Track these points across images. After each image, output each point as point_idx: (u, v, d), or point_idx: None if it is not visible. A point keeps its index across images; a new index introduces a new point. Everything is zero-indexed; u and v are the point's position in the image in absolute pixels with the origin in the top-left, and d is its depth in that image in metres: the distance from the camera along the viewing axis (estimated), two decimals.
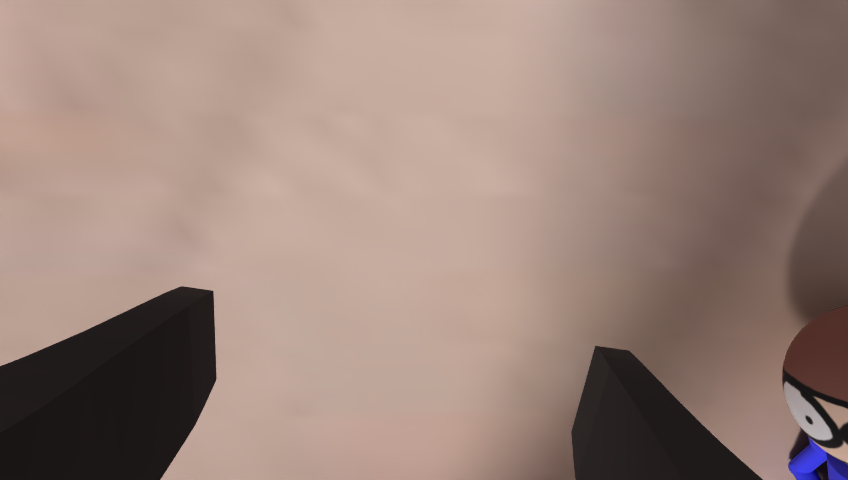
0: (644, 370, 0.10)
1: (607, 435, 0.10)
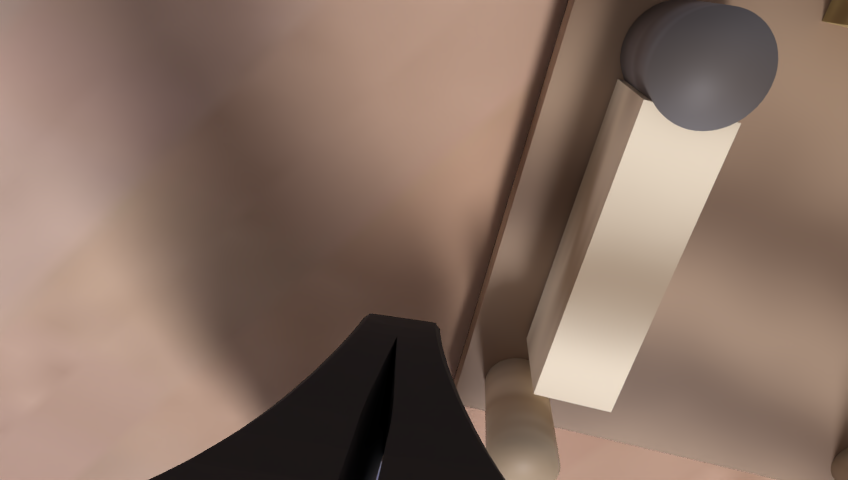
0: (431, 340, 0.10)
1: (390, 403, 0.10)
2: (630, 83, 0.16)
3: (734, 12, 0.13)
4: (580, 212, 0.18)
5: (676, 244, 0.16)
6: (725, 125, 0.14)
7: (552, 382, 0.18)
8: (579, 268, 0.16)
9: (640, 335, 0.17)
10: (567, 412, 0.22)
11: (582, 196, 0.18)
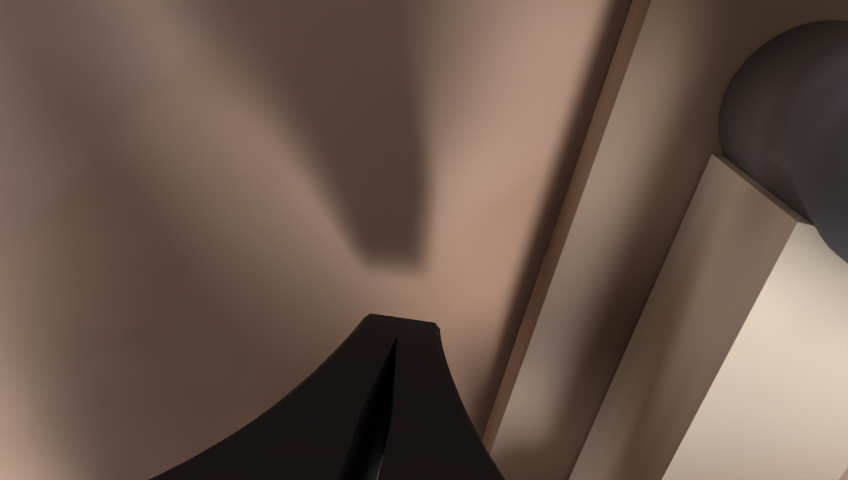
0: (431, 340, 0.10)
1: (390, 403, 0.10)
2: (741, 167, 0.09)
3: None
4: (645, 371, 0.11)
5: (831, 462, 0.09)
6: None
7: None
8: None
9: None
10: None
11: (647, 341, 0.11)
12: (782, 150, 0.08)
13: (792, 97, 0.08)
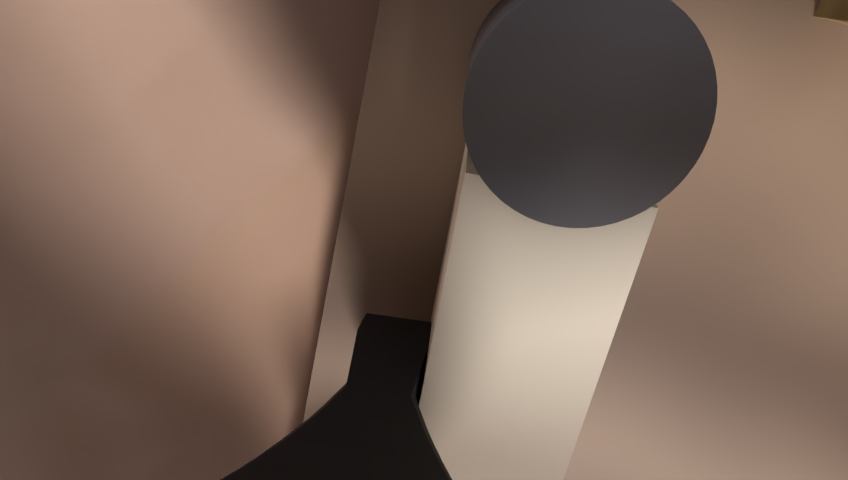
0: (391, 334, 0.10)
1: None
2: None
3: None
4: None
5: (567, 415, 0.09)
6: (627, 214, 0.07)
7: None
8: None
9: None
10: None
11: (433, 309, 0.11)
12: None
13: (474, 51, 0.08)
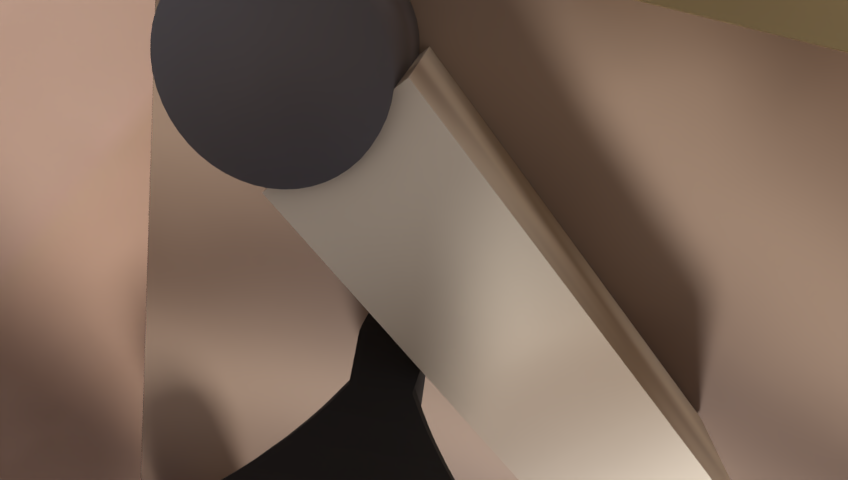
0: None
1: None
2: None
3: None
4: None
5: (550, 296, 0.08)
6: (388, 107, 0.07)
7: None
8: (476, 428, 0.09)
9: (667, 435, 0.09)
10: None
11: None
12: None
13: None
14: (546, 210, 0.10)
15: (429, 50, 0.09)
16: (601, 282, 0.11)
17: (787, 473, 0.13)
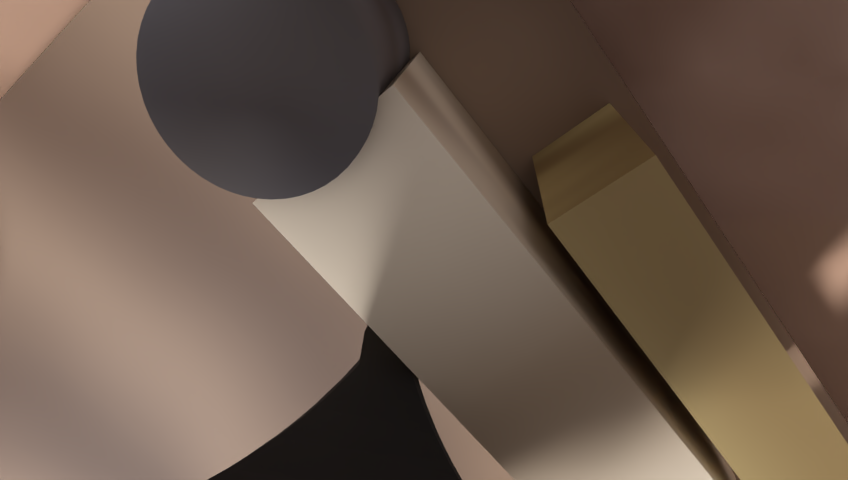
0: None
1: None
2: None
3: None
4: None
5: (543, 300, 0.08)
6: (373, 115, 0.07)
7: None
8: (474, 433, 0.09)
9: (667, 437, 0.09)
10: None
11: None
12: None
13: None
14: (542, 212, 0.10)
15: (419, 55, 0.09)
16: None
17: None
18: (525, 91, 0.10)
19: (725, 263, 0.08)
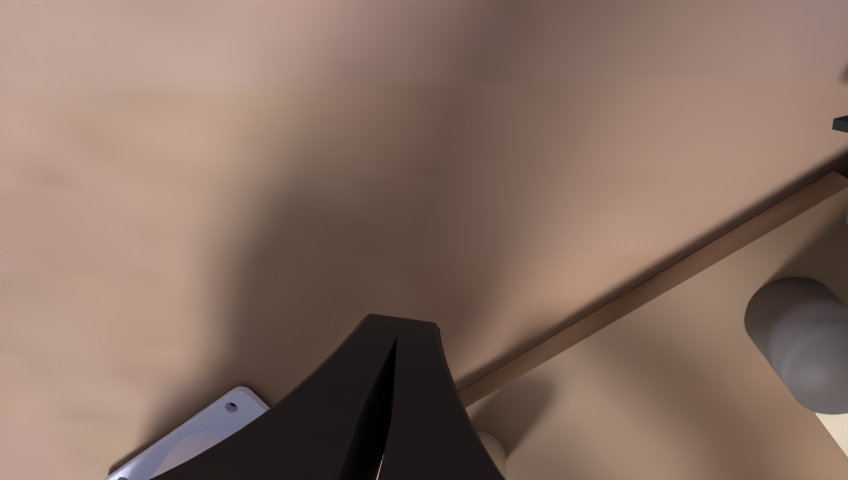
0: (431, 340, 0.10)
1: (390, 403, 0.10)
2: None
3: (819, 344, 0.17)
4: None
5: None
6: None
7: None
8: None
9: None
10: None
11: None
12: None
13: (771, 364, 0.18)
14: None
15: None
16: None
17: None
18: None
19: None
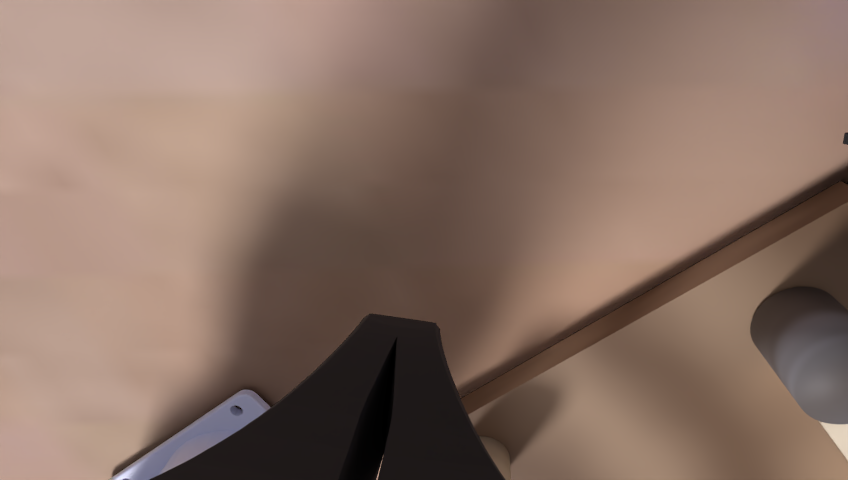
0: (431, 340, 0.10)
1: (390, 403, 0.10)
2: None
3: (826, 355, 0.17)
4: None
5: None
6: None
7: None
8: None
9: None
10: None
11: None
12: None
13: (777, 373, 0.18)
14: None
15: None
16: None
17: None
18: None
19: None
